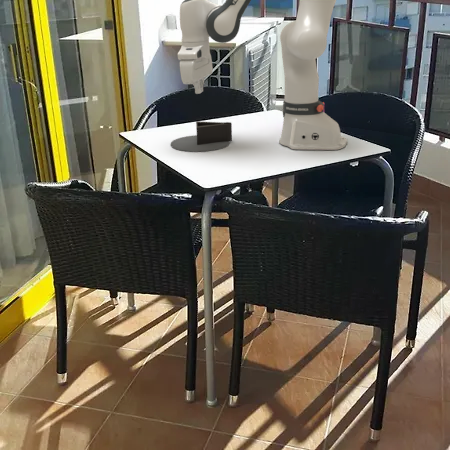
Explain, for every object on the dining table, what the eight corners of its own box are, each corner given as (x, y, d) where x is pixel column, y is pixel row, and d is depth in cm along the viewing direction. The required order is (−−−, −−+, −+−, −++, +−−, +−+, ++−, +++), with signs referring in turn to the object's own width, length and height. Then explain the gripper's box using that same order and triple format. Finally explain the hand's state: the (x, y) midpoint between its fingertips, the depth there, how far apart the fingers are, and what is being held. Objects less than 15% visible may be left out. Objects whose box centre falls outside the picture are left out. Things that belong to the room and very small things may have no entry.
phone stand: (197, 144, 214) (232, 143, 215) (196, 127, 212) (232, 126, 213) (196, 138, 223) (231, 136, 223) (196, 121, 221) (230, 120, 221)
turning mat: (236, 138, 223) (236, 136, 223) (218, 153, 206) (218, 152, 206) (183, 135, 229) (183, 133, 229) (161, 149, 212) (161, 148, 212)
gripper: (198, 45, 216) (201, 86, 221) (175, 55, 198) (179, 99, 203) (215, 45, 214) (218, 86, 219) (194, 54, 196) (197, 99, 201)
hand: (199, 92), depth 211 cm, fingers closed
